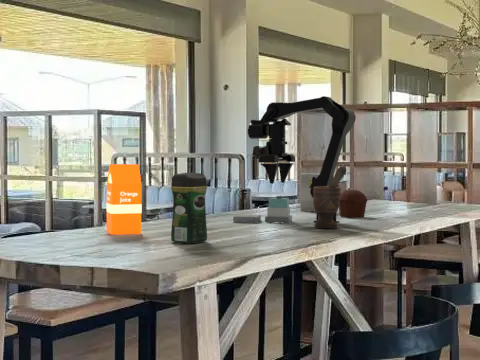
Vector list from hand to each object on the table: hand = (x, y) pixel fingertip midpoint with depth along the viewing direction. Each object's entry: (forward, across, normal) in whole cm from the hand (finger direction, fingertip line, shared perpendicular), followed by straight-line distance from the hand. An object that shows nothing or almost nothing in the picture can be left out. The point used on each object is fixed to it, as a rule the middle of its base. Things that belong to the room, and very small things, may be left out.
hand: (277, 183), depth 276 cm
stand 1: (+13, +13, -6) cm, 19 cm away
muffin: (+14, -27, +18) cm, 35 cm away
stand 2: (+13, +7, +4) cm, 15 cm away
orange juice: (+13, +63, -21) cm, 67 cm away
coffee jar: (+13, +72, +7) cm, 74 cm away
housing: (+11, +7, +4) cm, 13 cm away
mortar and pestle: (+14, +17, +26) cm, 34 cm away
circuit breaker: (+13, -46, -6) cm, 48 cm away
